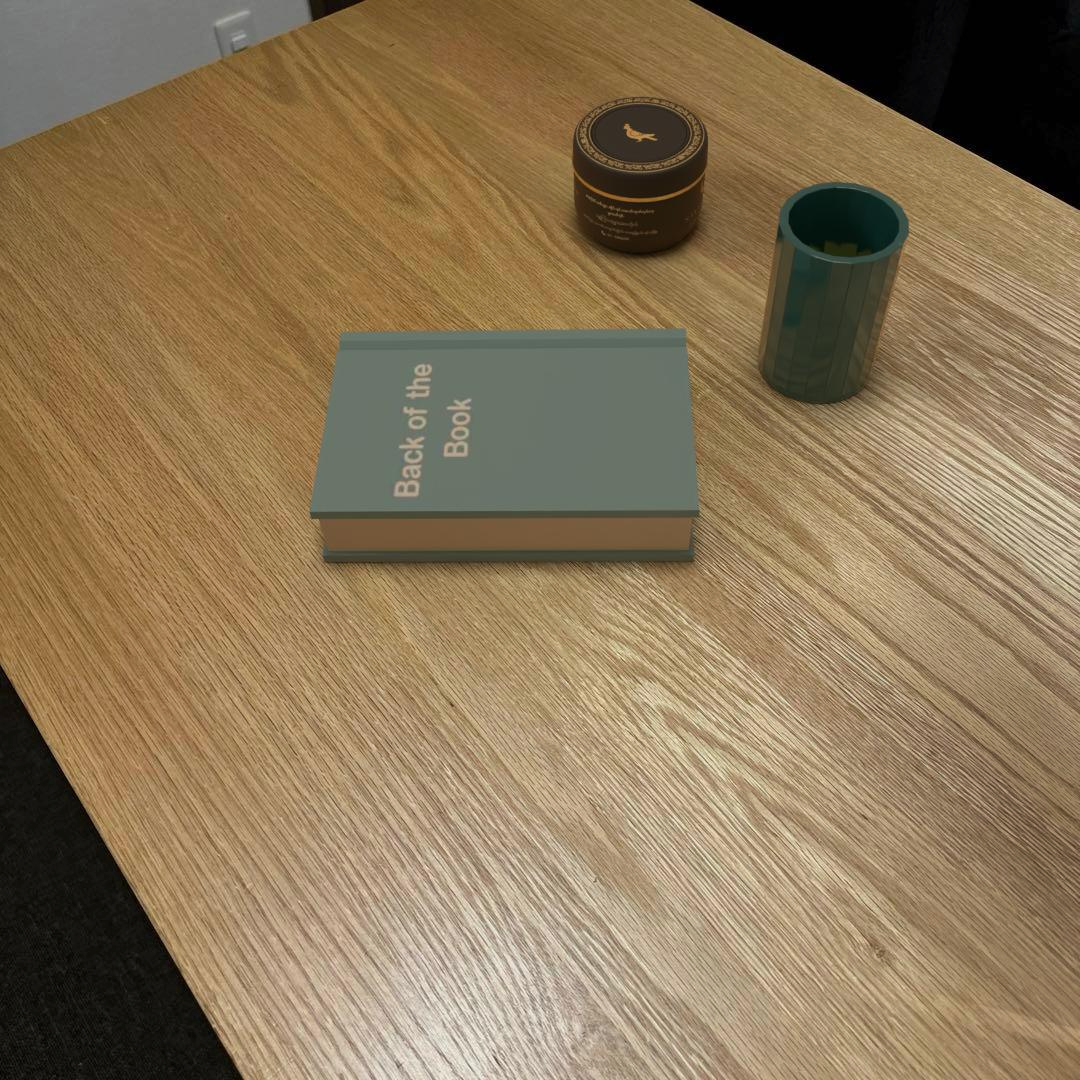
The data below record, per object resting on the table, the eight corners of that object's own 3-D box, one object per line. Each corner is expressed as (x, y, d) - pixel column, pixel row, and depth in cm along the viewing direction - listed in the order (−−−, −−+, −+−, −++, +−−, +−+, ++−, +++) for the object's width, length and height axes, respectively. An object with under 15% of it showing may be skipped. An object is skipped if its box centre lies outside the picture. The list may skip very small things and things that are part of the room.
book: (324, 562, 73) (309, 511, 69) (354, 375, 83) (342, 321, 79) (693, 561, 72) (699, 510, 68) (680, 372, 82) (684, 318, 78)
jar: (688, 269, 89) (696, 183, 82) (558, 250, 90) (556, 164, 84) (712, 188, 94) (720, 102, 88) (589, 171, 96) (589, 85, 90)
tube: (872, 329, 84) (908, 186, 75) (871, 409, 80) (910, 268, 70) (760, 319, 85) (782, 177, 76) (753, 397, 81) (775, 257, 71)
